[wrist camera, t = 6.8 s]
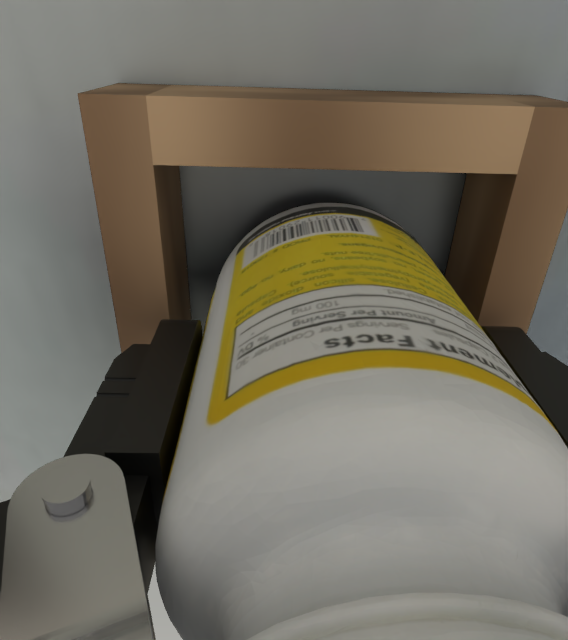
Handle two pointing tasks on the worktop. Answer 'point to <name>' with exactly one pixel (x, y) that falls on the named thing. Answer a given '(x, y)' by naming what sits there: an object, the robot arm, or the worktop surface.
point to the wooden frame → (326, 153)
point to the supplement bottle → (358, 454)
